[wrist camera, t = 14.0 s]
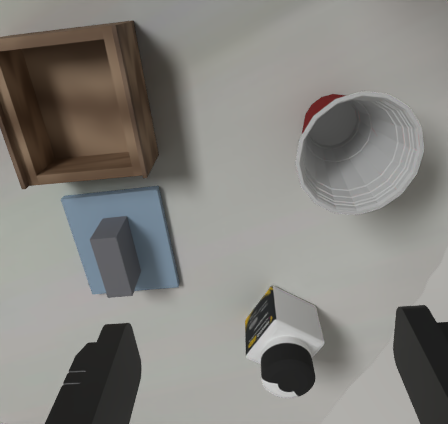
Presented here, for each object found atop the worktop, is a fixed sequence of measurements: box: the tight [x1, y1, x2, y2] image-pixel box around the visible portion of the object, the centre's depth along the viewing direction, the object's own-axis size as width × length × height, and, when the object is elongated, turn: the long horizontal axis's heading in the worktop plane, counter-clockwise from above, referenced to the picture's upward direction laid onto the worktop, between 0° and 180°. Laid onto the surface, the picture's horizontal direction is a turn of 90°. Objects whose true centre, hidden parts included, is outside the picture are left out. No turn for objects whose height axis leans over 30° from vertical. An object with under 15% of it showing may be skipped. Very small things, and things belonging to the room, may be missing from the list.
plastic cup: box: [295, 91, 424, 215], centre depth 41 cm, size 11×11×12 cm
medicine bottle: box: [245, 286, 325, 398], centre depth 53 cm, size 7×7×12 cm
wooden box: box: [0, 21, 159, 189], centre depth 43 cm, size 14×13×7 cm
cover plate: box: [61, 186, 179, 298], centre depth 52 cm, size 14×12×6 cm
